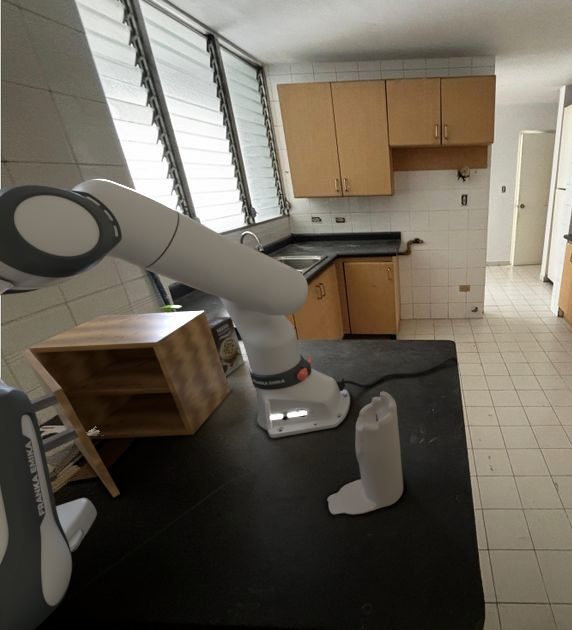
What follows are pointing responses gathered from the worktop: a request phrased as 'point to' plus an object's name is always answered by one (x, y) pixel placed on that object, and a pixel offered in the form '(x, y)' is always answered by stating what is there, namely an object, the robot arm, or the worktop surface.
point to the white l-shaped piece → (373, 461)
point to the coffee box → (226, 343)
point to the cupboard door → (66, 422)
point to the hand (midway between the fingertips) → (24, 505)
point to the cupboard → (138, 373)
